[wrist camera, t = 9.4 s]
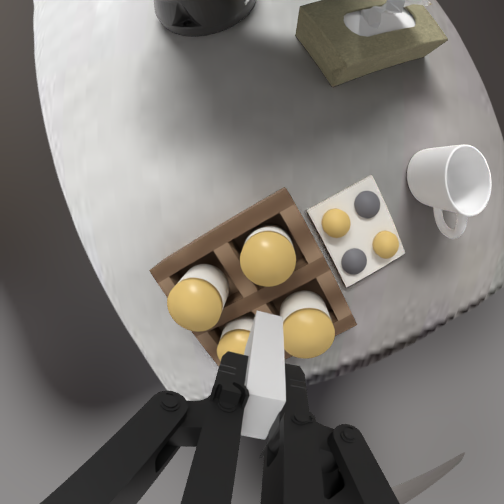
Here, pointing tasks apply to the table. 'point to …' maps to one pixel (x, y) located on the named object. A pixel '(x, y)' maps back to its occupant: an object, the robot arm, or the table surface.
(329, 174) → the table surface
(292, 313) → the button
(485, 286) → the table surface
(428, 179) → the mug
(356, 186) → the card
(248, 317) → the button
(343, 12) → the tissue box
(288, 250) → the button
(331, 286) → the board
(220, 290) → the button
